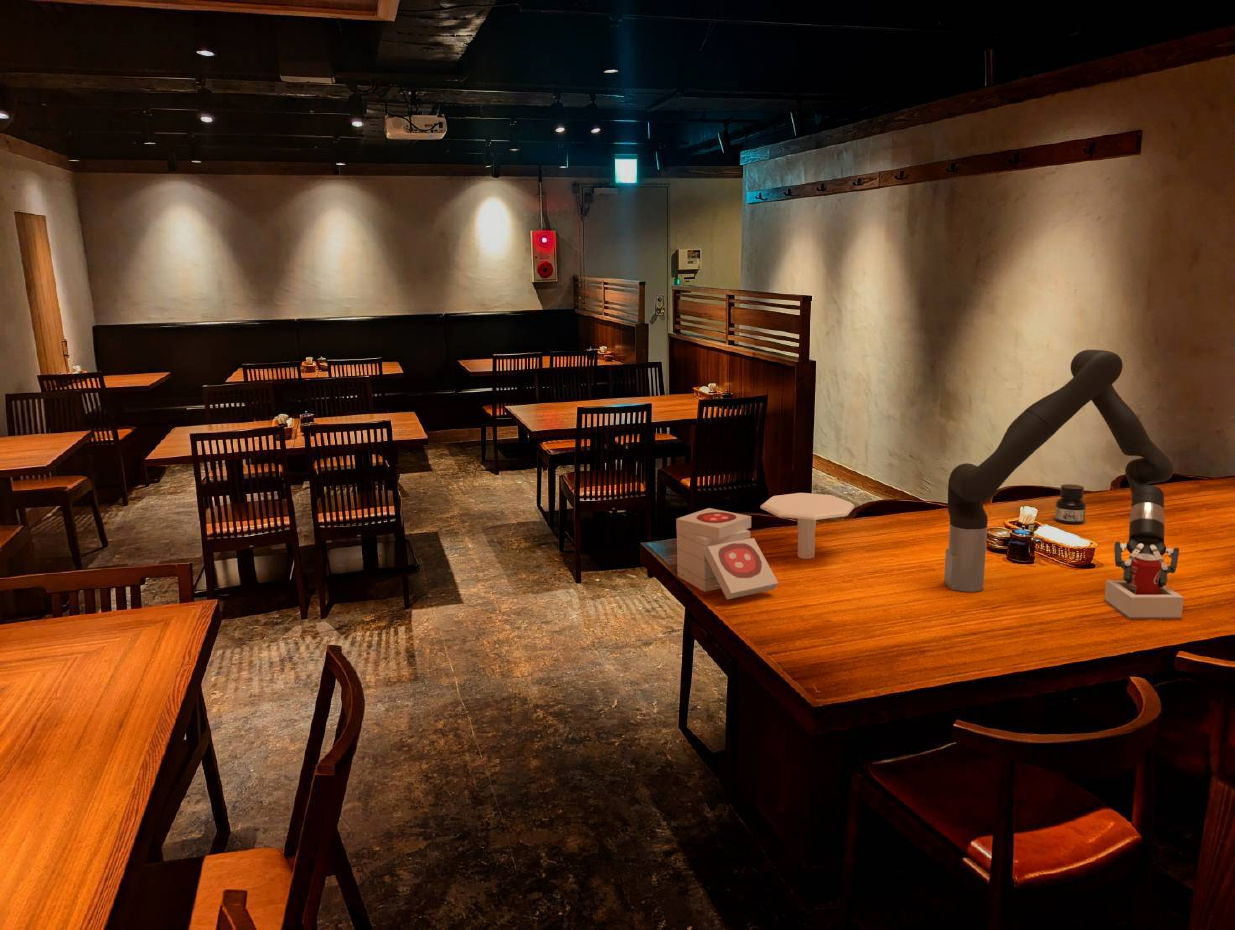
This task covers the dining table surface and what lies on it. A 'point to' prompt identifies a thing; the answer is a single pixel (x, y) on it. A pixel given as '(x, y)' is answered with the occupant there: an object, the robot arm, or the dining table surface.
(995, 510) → the dining table surface
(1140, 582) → the beverage can
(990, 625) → the dining table surface
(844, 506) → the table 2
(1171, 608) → the well holder
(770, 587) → the pizza boxes
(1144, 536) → the robot arm
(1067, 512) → the ink bottle
